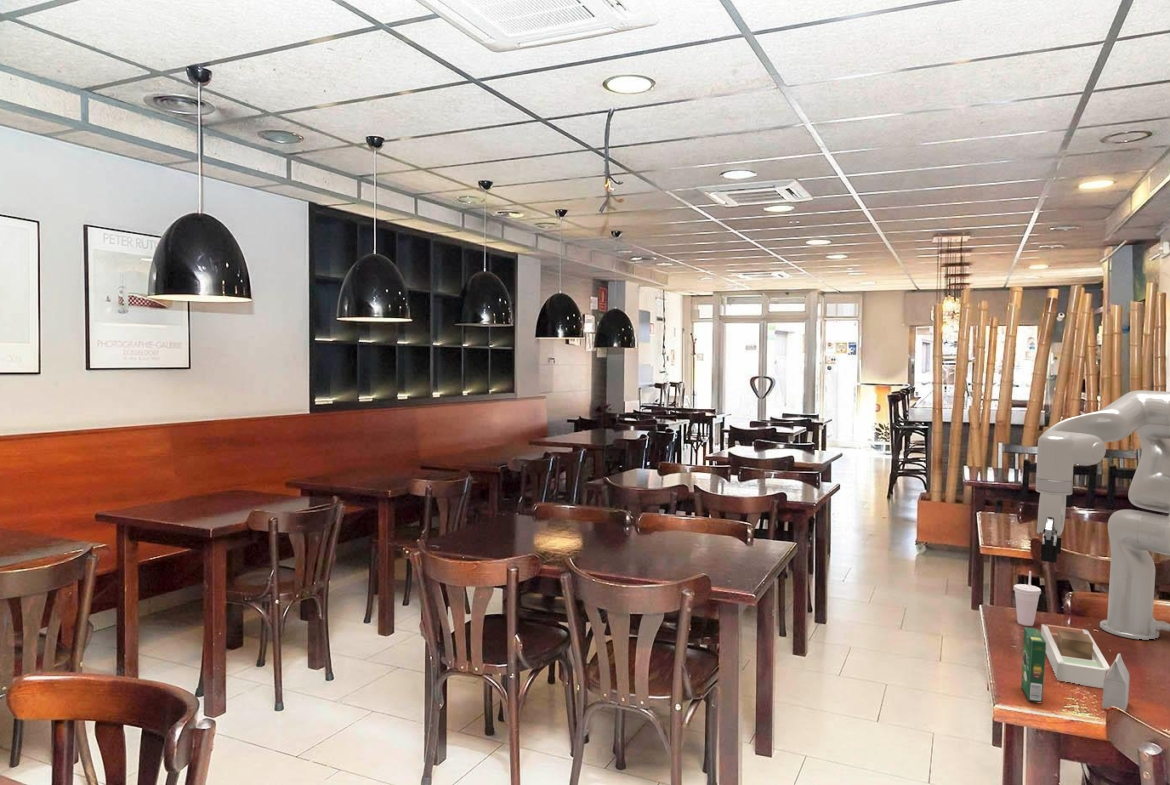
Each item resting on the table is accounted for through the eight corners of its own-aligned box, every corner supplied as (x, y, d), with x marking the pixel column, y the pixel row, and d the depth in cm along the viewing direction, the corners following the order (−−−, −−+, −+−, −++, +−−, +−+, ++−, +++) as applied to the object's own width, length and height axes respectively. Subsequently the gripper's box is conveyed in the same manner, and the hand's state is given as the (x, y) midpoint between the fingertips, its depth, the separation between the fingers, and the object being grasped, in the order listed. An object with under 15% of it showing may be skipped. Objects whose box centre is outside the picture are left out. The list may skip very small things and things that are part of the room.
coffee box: (1043, 704, 159) (1047, 641, 158) (1027, 702, 160) (1030, 639, 159) (1035, 689, 166) (1038, 628, 166) (1020, 686, 167) (1023, 626, 167)
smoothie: (1044, 628, 205) (1047, 575, 204) (1019, 627, 205) (1022, 574, 204) (1031, 619, 211) (1033, 568, 211) (1007, 619, 212) (1009, 567, 211)
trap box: (1086, 646, 193) (1087, 629, 192) (1111, 689, 167) (1112, 671, 167) (1040, 639, 196) (1041, 623, 196) (1057, 681, 171) (1058, 663, 171)
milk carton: (1128, 703, 160) (1130, 655, 160) (1124, 714, 155) (1127, 664, 155) (1106, 698, 163) (1109, 650, 162) (1102, 709, 158) (1104, 660, 157)
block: (1087, 651, 182) (1087, 634, 182) (1092, 660, 177) (1093, 642, 176) (1057, 646, 185) (1058, 630, 184) (1061, 655, 179) (1062, 638, 179)
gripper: (1040, 480, 197) (1037, 547, 197) (1031, 489, 183) (1028, 562, 183) (1075, 483, 192) (1072, 552, 193) (1069, 493, 178) (1065, 567, 179)
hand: (1050, 557), depth 188 cm, fingers open, 9 cm apart
